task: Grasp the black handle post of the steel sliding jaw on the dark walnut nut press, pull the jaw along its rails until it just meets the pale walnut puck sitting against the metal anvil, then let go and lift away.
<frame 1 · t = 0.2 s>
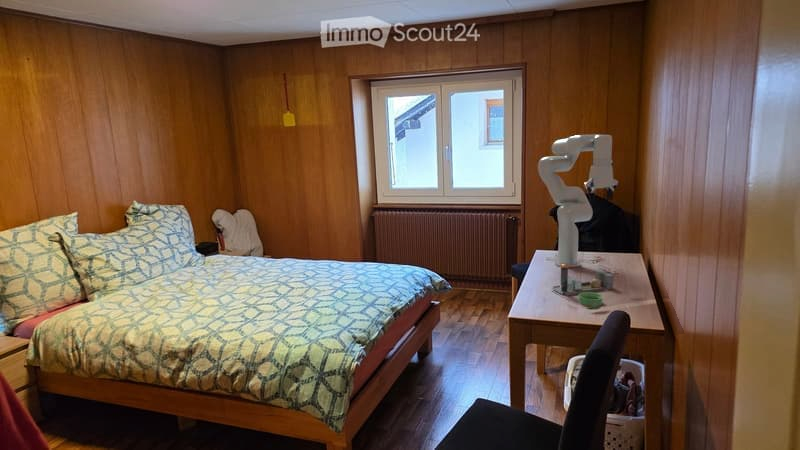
hand: (600, 200, 225), 37 cm above the table, tool pointing down, fingers open, 9 cm apart
ramekin: (590, 306, 196), on the table
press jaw: (567, 277, 209), point 8 cm above the table, slide at 0.0 cm
walnut: (596, 287, 214), point 1 cm above the table, touching press frame
press frame: (586, 291, 213), on the table
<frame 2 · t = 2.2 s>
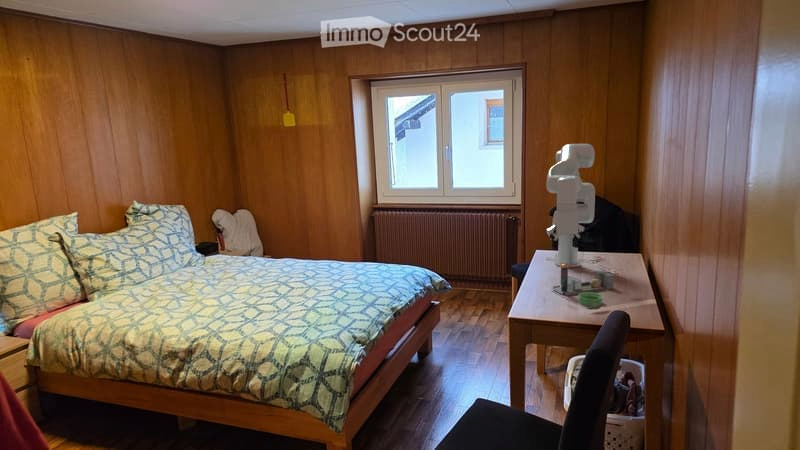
hand: (565, 248, 206), 21 cm above the table, tool pointing down, fingers open, 9 cm apart
nothing on the table moved.
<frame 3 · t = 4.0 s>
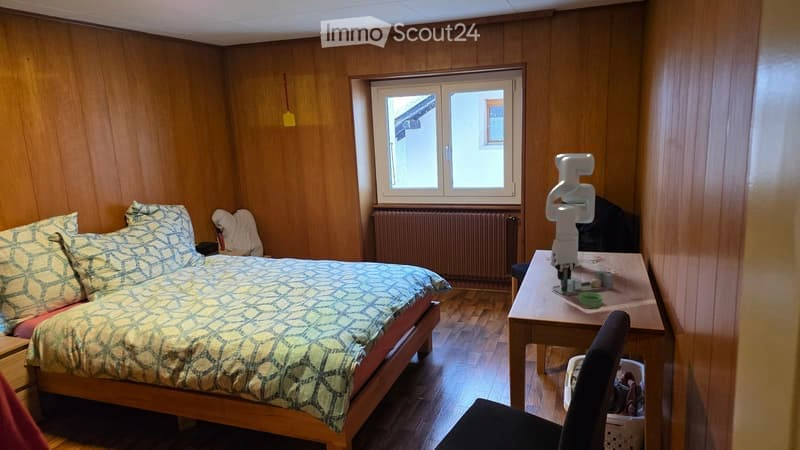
hand: (564, 278, 209), 7 cm above the table, tool pointing down, fingers closed on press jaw, 2 cm apart
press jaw: (567, 277, 209), point 8 cm above the table, slide at 0.0 cm, touching gripper
everything else where it was.
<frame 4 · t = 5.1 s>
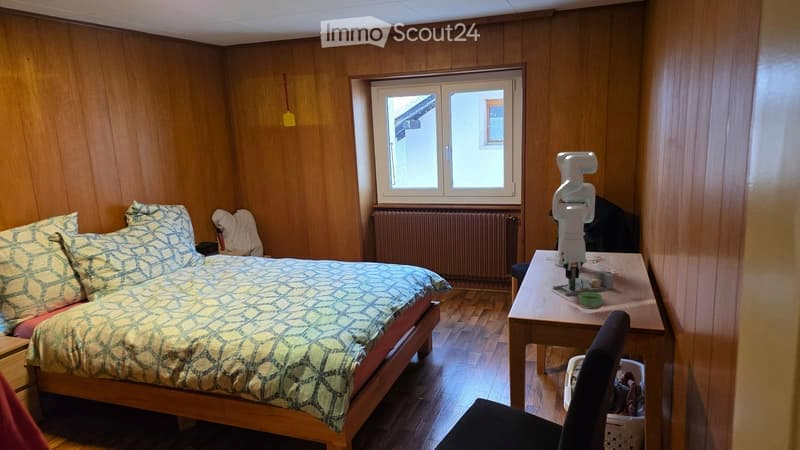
hand: (572, 277, 210), 7 cm above the table, tool pointing down, fingers closed on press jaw, 2 cm apart
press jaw: (575, 276, 210), point 8 cm above the table, slide at 3.9 cm, touching gripper
everything else where it was.
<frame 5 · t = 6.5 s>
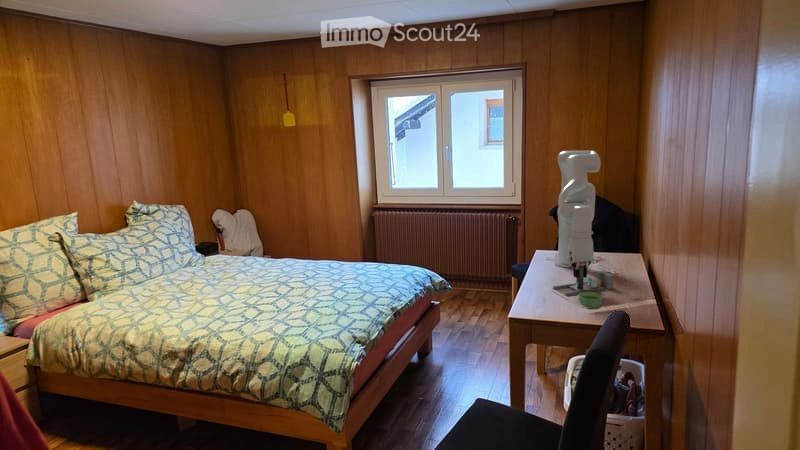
hand: (580, 276, 211), 7 cm above the table, tool pointing down, fingers closed on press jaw, 2 cm apart
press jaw: (583, 275, 211), point 8 cm above the table, slide at 7.7 cm, touching gripper
everything else where it was.
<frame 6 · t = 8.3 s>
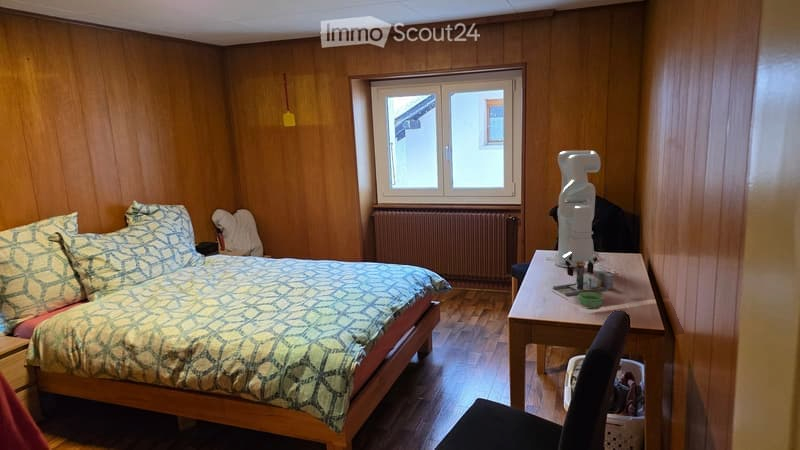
hand: (580, 274, 210), 8 cm above the table, tool pointing down, fingers open, 9 cm apart
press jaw: (583, 275, 211), point 8 cm above the table, slide at 7.8 cm
everything else where it was.
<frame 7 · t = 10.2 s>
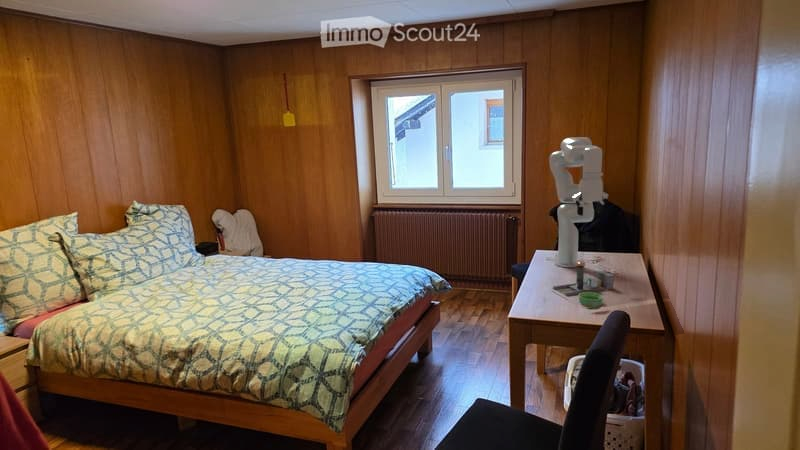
hand: (589, 214, 220), 32 cm above the table, tool pointing down, fingers open, 9 cm apart
nothing on the table moved.
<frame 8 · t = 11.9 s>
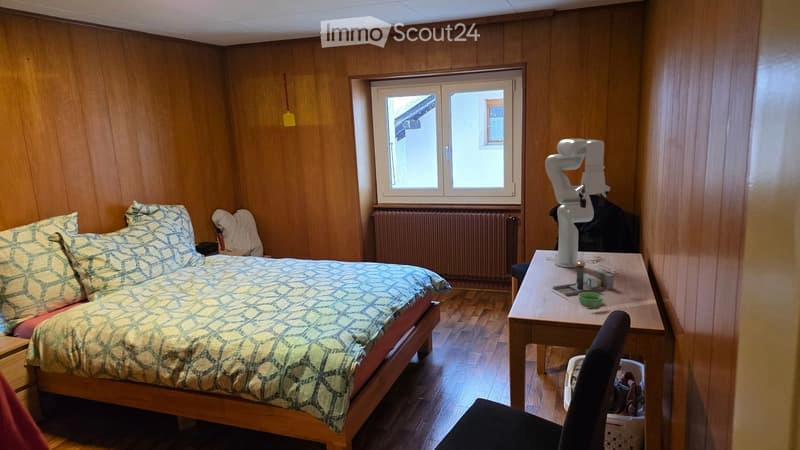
hand: (592, 206, 223), 34 cm above the table, tool pointing down, fingers open, 9 cm apart
nothing on the table moved.
at the end: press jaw slide at 7.8 cm; walnut moved 0.1 cm from its start; walnut tilted 0° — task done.
